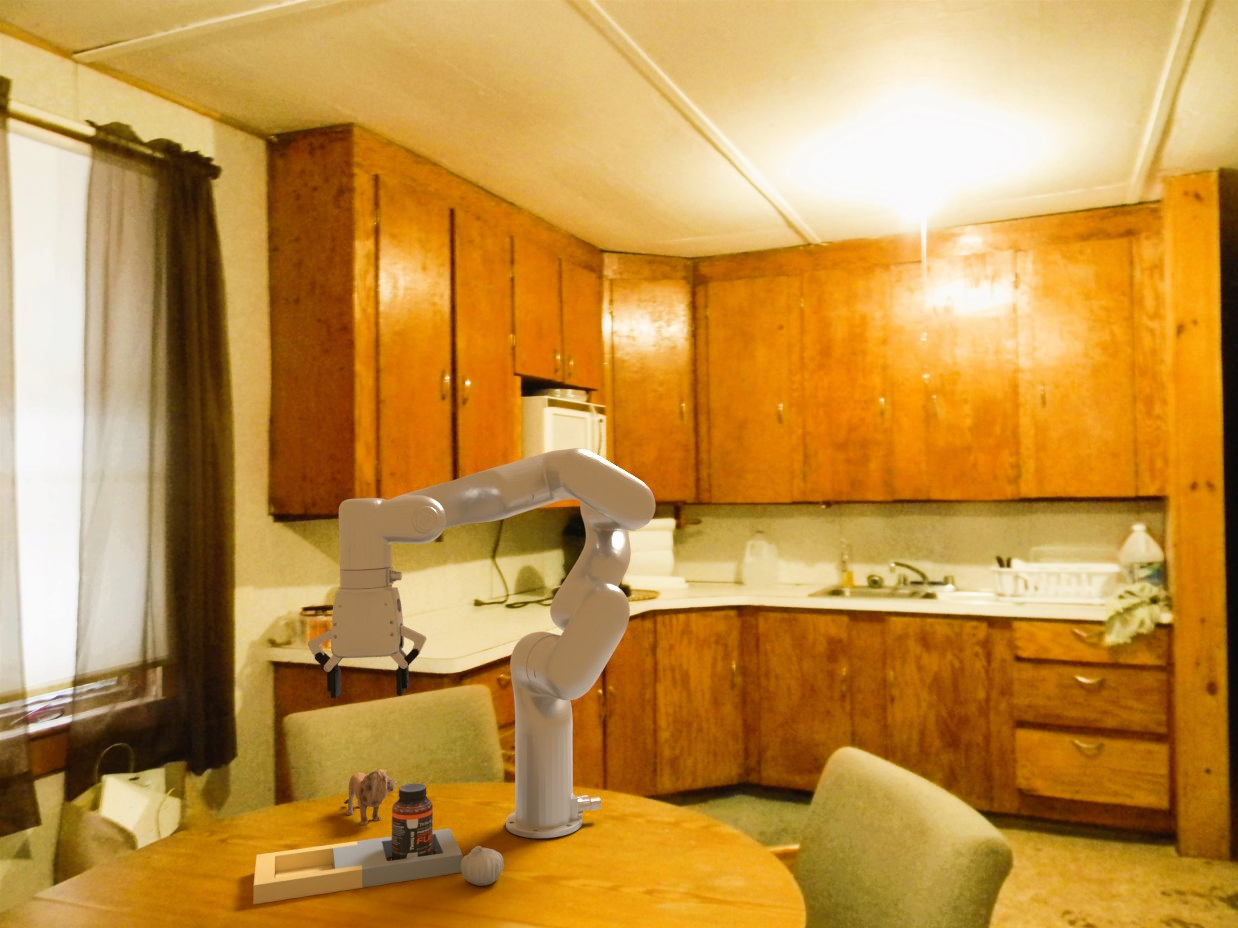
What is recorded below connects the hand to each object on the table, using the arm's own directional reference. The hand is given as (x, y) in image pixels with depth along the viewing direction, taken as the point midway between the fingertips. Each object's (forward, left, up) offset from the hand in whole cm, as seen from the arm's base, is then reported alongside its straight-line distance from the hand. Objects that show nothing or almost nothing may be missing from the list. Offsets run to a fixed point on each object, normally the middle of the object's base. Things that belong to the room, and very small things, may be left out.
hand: (368, 695), depth 131 cm
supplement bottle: (-6, +2, -25) cm, 26 cm away
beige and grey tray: (+1, +2, -25) cm, 25 cm away
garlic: (-15, +12, -25) cm, 32 cm away
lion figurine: (-2, -21, -25) cm, 33 cm away
